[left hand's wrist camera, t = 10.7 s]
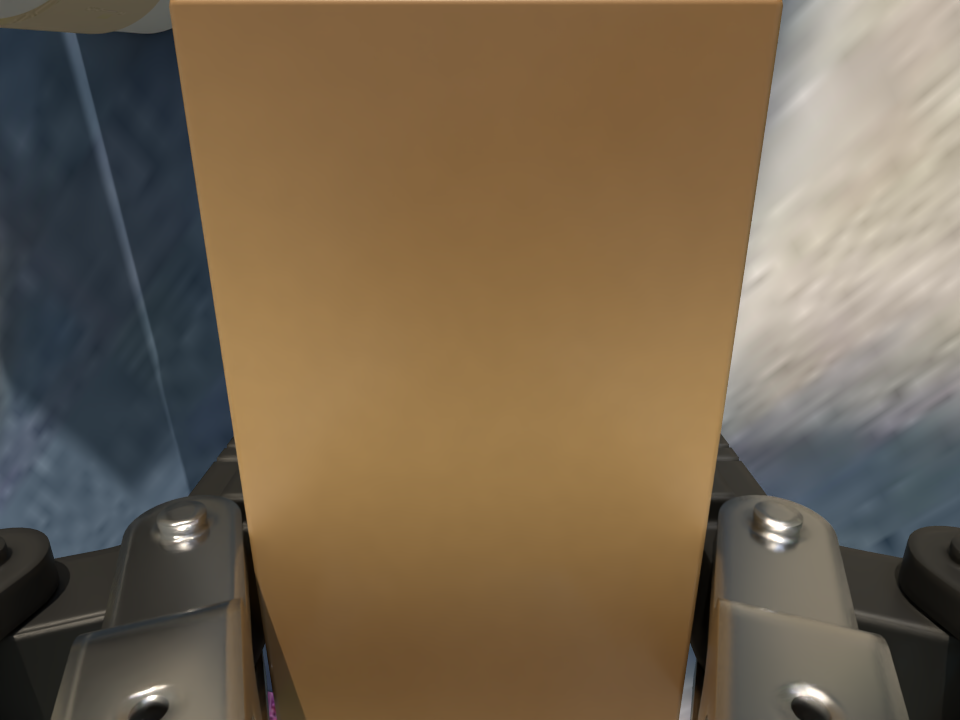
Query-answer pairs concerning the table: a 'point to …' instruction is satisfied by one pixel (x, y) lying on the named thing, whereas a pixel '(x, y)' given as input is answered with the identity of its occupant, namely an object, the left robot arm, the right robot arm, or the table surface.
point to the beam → (476, 334)
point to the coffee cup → (87, 15)
